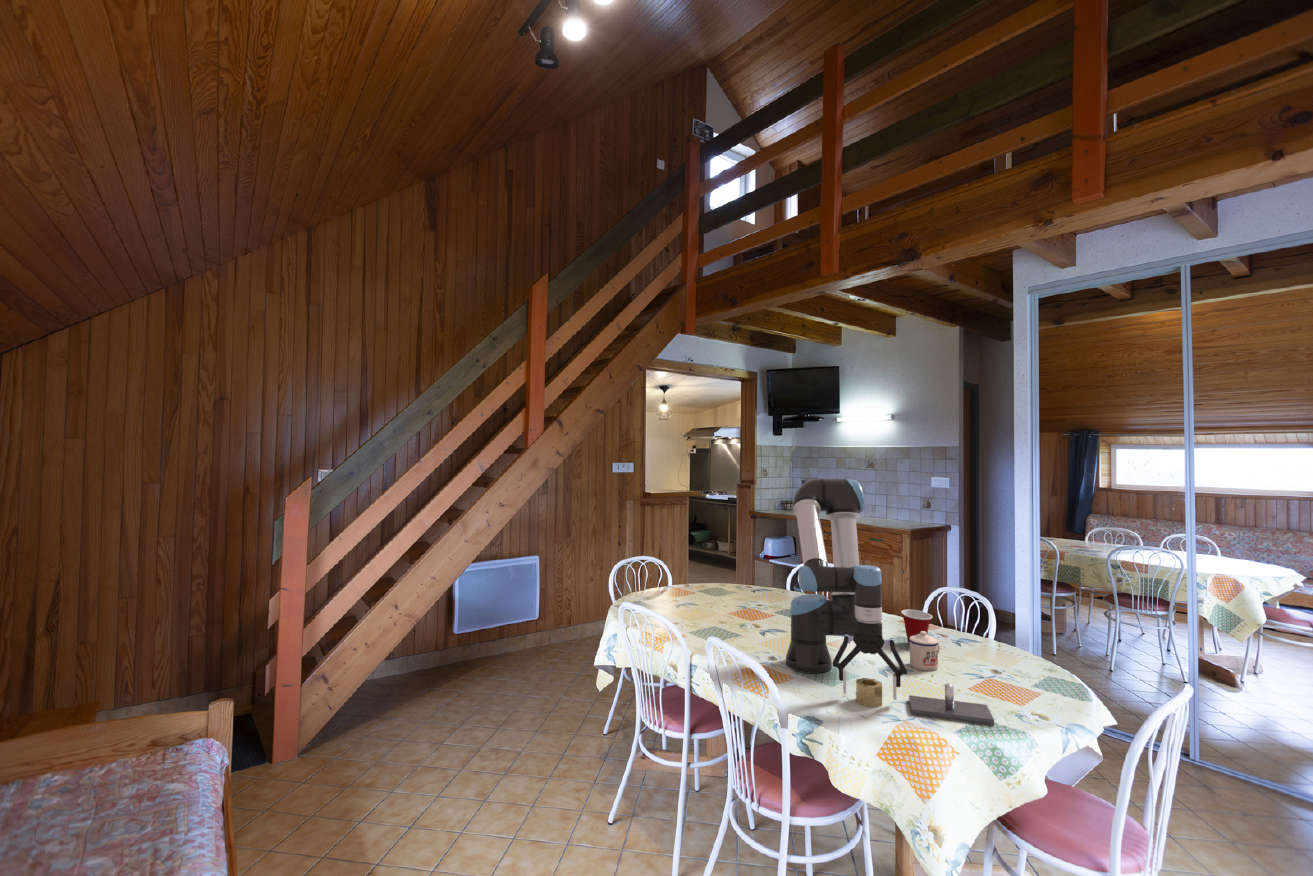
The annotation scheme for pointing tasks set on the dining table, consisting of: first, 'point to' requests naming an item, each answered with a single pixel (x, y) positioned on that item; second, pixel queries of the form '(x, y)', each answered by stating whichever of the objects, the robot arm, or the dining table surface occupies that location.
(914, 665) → the teacup with lid
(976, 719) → the shaft stand
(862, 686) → the ring
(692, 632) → the dining table surface
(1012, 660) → the dining table surface
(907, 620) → the plastic cup
